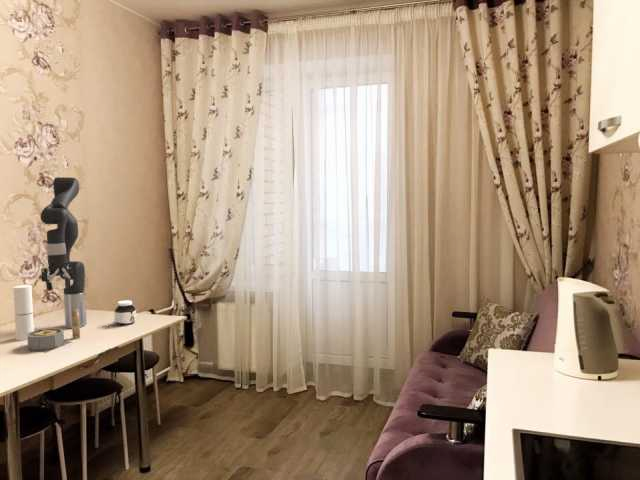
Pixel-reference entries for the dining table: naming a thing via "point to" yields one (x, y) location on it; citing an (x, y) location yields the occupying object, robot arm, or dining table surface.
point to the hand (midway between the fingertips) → (58, 288)
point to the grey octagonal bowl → (45, 339)
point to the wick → (75, 324)
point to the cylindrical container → (23, 311)
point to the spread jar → (125, 313)
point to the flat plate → (44, 350)
